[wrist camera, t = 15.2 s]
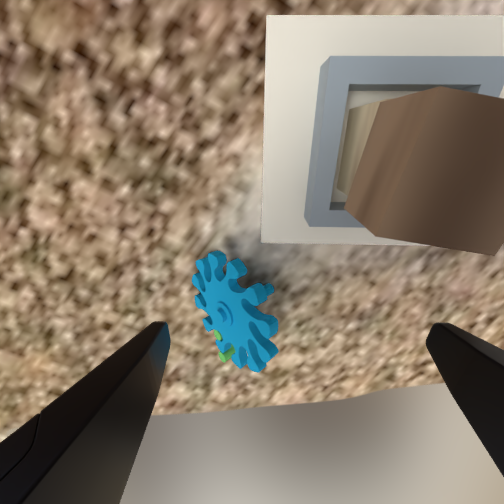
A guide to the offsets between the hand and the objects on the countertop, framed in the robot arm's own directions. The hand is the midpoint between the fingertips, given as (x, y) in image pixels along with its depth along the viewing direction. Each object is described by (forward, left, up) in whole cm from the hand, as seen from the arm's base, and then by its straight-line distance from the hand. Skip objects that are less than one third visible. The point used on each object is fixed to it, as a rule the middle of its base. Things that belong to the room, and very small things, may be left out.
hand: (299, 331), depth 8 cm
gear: (+4, +7, -13) cm, 15 cm away
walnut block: (-6, -4, -7) cm, 10 cm away
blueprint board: (-7, -5, -13) cm, 15 cm away
